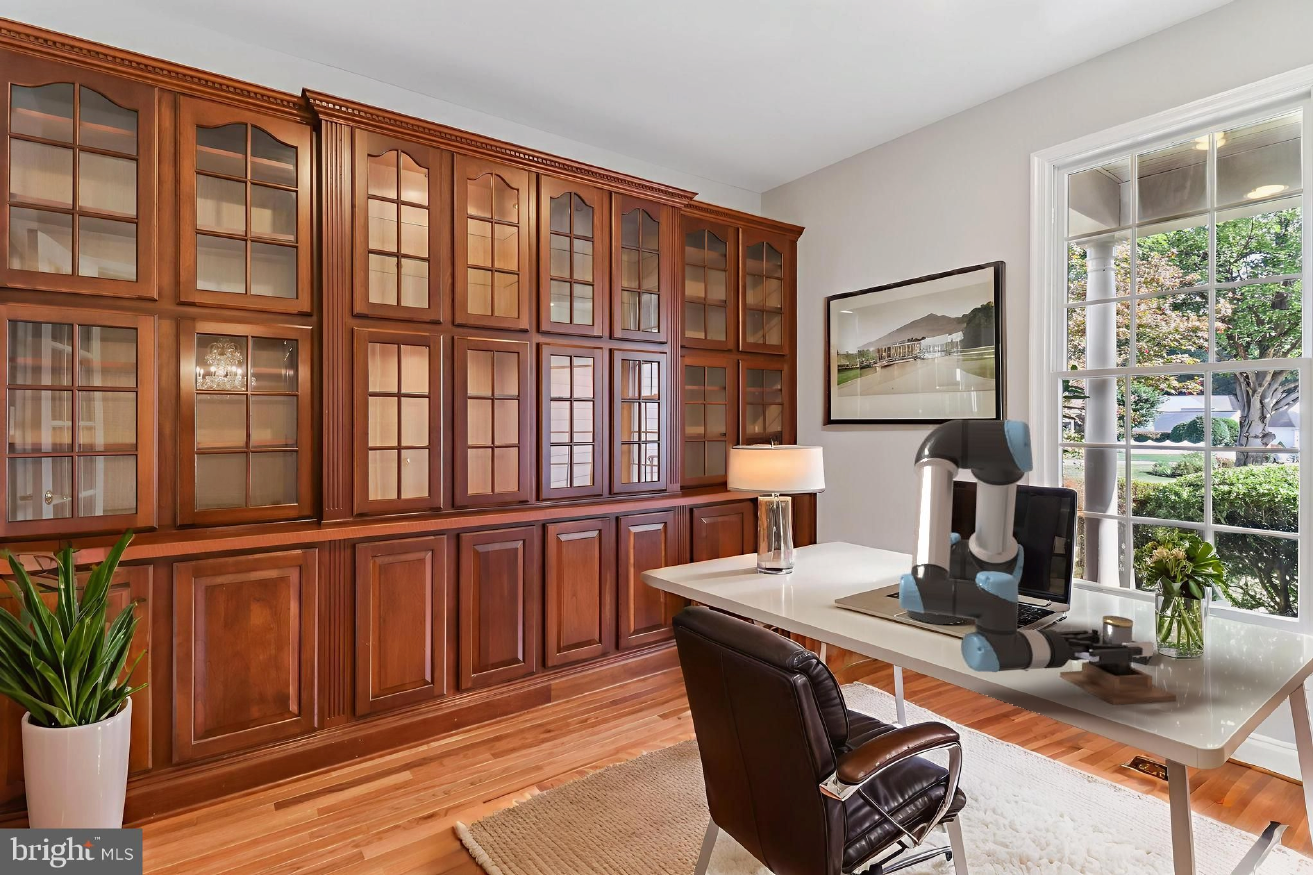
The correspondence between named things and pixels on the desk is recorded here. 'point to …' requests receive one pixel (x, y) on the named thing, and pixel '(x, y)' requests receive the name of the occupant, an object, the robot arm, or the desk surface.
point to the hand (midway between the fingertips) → (1139, 643)
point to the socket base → (1117, 685)
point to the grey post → (1117, 641)
